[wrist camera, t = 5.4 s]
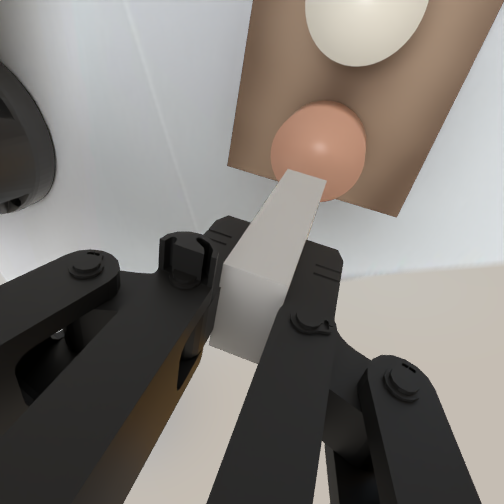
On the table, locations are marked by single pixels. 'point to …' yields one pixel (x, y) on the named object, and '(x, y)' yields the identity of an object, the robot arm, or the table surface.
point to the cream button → (362, 27)
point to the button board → (358, 91)
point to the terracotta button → (322, 146)
